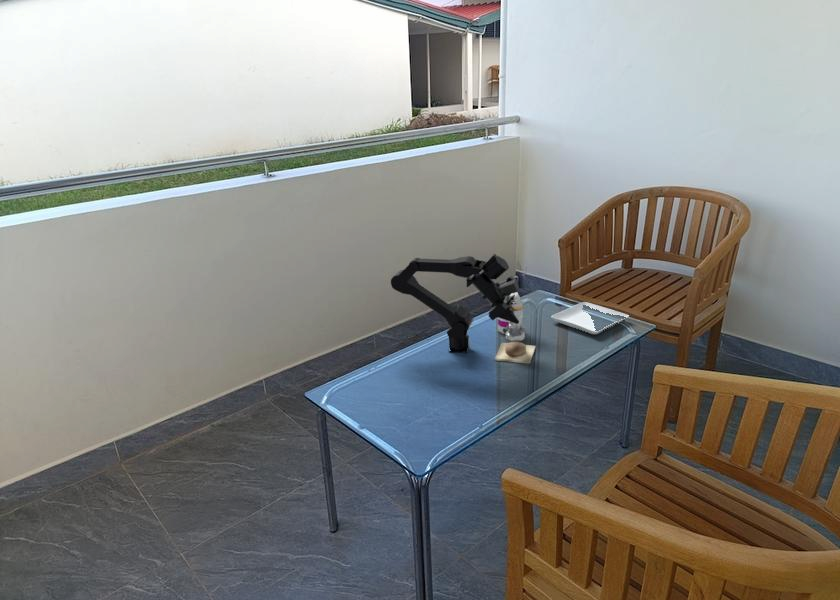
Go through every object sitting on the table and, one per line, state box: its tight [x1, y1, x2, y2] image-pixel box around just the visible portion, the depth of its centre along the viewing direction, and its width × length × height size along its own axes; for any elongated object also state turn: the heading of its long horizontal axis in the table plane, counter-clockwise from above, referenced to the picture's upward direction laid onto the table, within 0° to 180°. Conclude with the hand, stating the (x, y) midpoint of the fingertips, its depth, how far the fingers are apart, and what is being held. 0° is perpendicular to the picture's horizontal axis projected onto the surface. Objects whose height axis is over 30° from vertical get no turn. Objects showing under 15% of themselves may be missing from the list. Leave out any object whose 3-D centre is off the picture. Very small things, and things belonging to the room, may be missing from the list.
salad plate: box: [551, 301, 630, 335], centre depth 228 cm, size 21×21×3 cm
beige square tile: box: [494, 341, 537, 364], centre depth 208 cm, size 12×12×3 cm
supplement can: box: [497, 291, 521, 335], centre depth 223 cm, size 8×8×15 cm
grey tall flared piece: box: [505, 299, 526, 342], centre depth 204 cm, size 7×6×13 cm
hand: (519, 320), depth 203 cm, fingers closed on grey tall flared piece, 4 cm apart
